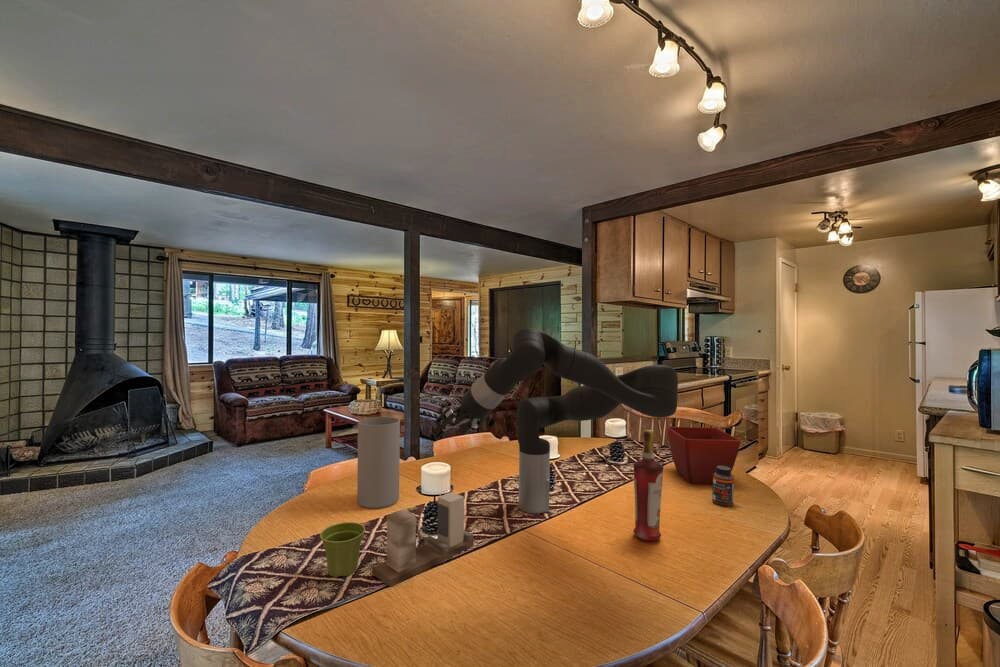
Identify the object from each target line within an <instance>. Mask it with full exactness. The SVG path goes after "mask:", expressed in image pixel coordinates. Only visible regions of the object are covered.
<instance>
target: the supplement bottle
mask: <svg viewBox="0 0 1000 667" xmlns="http://www.w3.org/2000/svg"><path fill="white" fill-rule="evenodd" d="M734 488H735V477H734V475H733V474H732V471H731V468H729V467H726V466H717V472H715V473H714V474H713V484H712V496H711V498H712V502H713V503H714V504H716V505H718V506H722V507H731V506H732V505H734Z"/></svg>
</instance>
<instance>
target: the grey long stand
mask: <svg viewBox="0 0 1000 667" xmlns="http://www.w3.org/2000/svg"><path fill="white" fill-rule="evenodd" d="M473 546H474V534H473V533H471V532H470V531H468V530H465V529H464V539H463V542H461V543H459V544H457V545H455V546H453V547H450V548H449V547H448V545H446V544H444V543H442V542H440V541H438V537H437V538H435V537H432V536H431V535H429V536H426V537H424V544H421V545H420V546H417V514H415V513H413V512H411V511H409V510H406V509H405V508H404V509H401V510H398V511H395V512H391V513H389V514H387V515H386V561H383V562H381V563H379V564H377V565H375V566H372V567H371V568H372V569H371V570H372V571H371V572H372V576H374V577H376V579H378V580H380V581H381V582H382V583H384V584H385V585H387V586H388V587H390V588H392V587H394V586H395V585H396V586H397V585H398V584H400V583H402V582H404V581H406V580H408V579H410V578H412V577H414V576H416V575H417V574H420V573H422V572H424V571H425V570H428V569H430V568H432V567H434V566H436V565H438V564H440V563H442V562H444V561H446V560H449V559H450V558H452V557H453V556H456V555H457V554H460V553H462V552H464V551H465V550H468V549H471V548H472V547H473Z"/></svg>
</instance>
